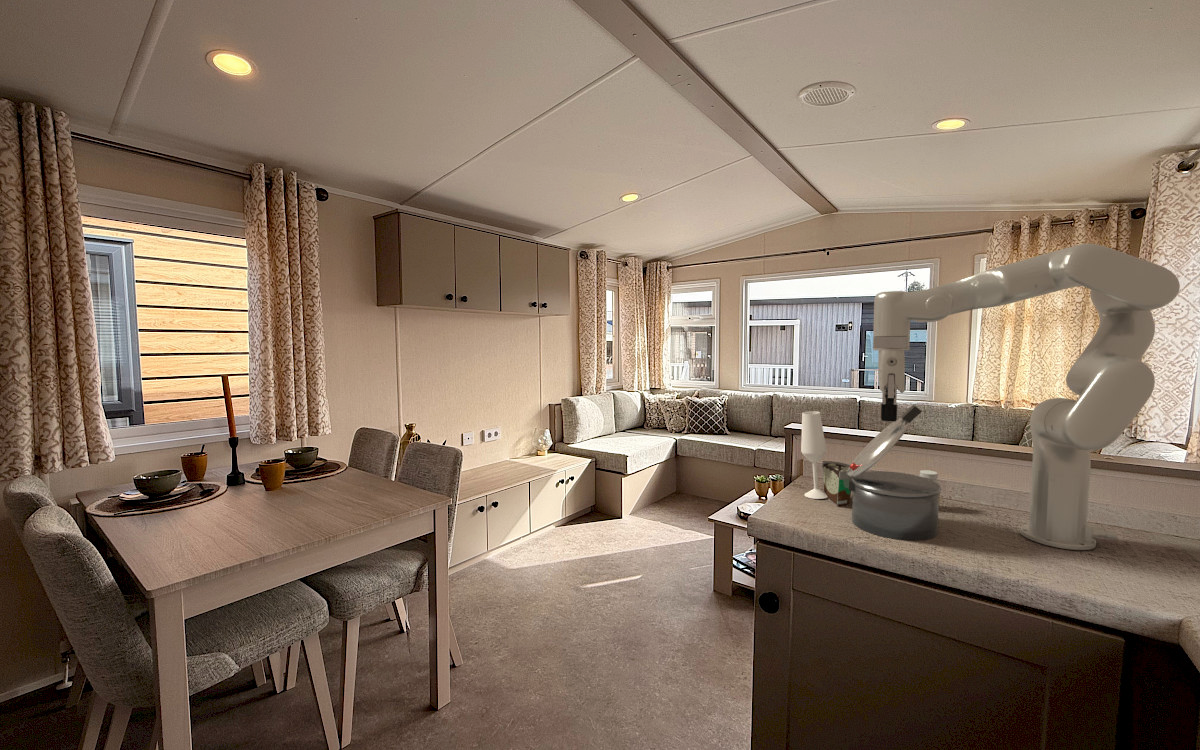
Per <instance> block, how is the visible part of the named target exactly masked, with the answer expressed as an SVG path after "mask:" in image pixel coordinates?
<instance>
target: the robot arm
mask: <svg viewBox="0 0 1200 750" xmlns="http://www.w3.org/2000/svg"><path fill="white" fill-rule="evenodd" d="M1078 287H1084V288H1086V289H1088V290H1090V291H1089V293H1090V295H1089V296H1090V300H1091V302H1092V303H1091V304H1093V306H1094V307H1095V309H1096V311H1097V314H1098V317H1099V324H1098V328H1097V330H1096V332H1095V334H1094V335H1093V337H1092V339H1091V340H1090V342H1089V343H1088V344H1087V346H1086V347H1085V348H1084V349H1083V351H1082V353H1081V354H1080V355H1079V357H1078V358H1077V359H1076V360H1075V362H1074V363H1073V364H1072V366H1071V367H1070V369H1069V371H1068V372H1067V374H1066V379H1065V382H1066V386H1067V387H1068V389H1069V390H1070V391H1071V392H1072V393H1073V394H1076V395H1078V398H1077V399H1076V400H1075V399H1071V398H1065V397H1054V398H1050V399H1046V400H1043V401H1041V402H1039V404H1037V405H1036V406H1035V407H1034V408H1033V410H1032V412H1031V413H1030V419H1029V420H1030V421H1029V424H1030V425H1029V426H1030V434H1031V441H1032V463H1031V464H1032V466H1031V480H1030V481H1031V482H1030V483H1031V484H1030V485H1031V487H1030V504H1029V520H1028V521H1029V522H1028V523H1026V524H1022V525H1021V526H1020V527H1019V532H1020V534H1021V536H1023V537H1024V538H1026V539H1028V540H1030V541H1033V542H1035V543H1038V544H1041V545H1045V546H1049V547H1054V548H1058V549H1064V550H1071V551H1089V550H1093V549H1095V548H1096V546H1097V540H1096V539H1098V538H1103V539H1104V540H1106V539H1107V540H1113V541H1116V540H1118V532H1117V531H1116V530H1115V529H1114V530H1111V529H1105V528H1104V527H1103V526H1097V525H1096V526H1095V525H1094V526H1093V525H1092V524H1090V523H1089V522H1088V515H1089V514H1088V513H1089V497H1090V483H1091V482H1090V479H1091V468H1092V466H1091V464H1092V463H1091V461H1092V460H1091V453H1090V452H1092V451H1093V452H1094V451H1098V450H1103V449H1105V448H1107V447H1108V446H1110V445H1112V444H1113V443H1114V442H1115V441H1117V439H1118V438H1119V437H1120V436H1121V435H1122V434H1123V433H1124V431H1125V430H1126V429H1127V427H1128V426H1129V425H1130V424H1131V423H1132V421H1133V420H1134V419H1135V418H1136V417H1137V415H1138V413H1140V411H1141V410H1142V408H1144V406H1145V405H1146V404H1147V402H1148V400H1149V399H1150V398H1151V396H1152V395H1153V392H1154V389H1155V383H1156V380H1155V375H1154V372H1153V370H1152V369H1151V367H1149V365H1147V364H1146V363H1145V362H1143V361H1141V360H1142V358H1143V356H1144V355H1145V353H1146V352H1147V350H1148V348H1149V347H1150V345H1151V344H1152V342H1153V339H1154V338H1155V333H1156V326H1155V325H1156V324H1155V320H1154V317H1153V313H1152V311H1153V310H1158V309H1160V308H1163V307H1165V306H1167V305H1169V304H1170V303H1172V302H1173V301H1174V300H1175V299H1176V298H1177V296H1178V294H1179V293H1180V289H1181V287H1180V281H1179V277H1177V276H1176V274H1175V273H1174V272H1173V271H1172V270H1169V269H1168V268H1167V267H1165V266H1163V265H1159V264H1157V263H1154V262H1151V261H1148V260H1146V259H1142V258H1139V257H1137V256H1134V255H1131V254H1128V253H1126V252H1123V251H1121V250H1118V249H1114V248H1111V247H1108V246H1104V245H1103V244H1102V245H1101V244H1097V243H1080V244H1076V245H1073V246H1069V247H1066V248H1062V249H1058V250H1054V251H1050V252H1047V253H1043V254H1040V255H1036V256H1033V257H1030V258H1026V259H1022V260H1018V261H1015V262H1012V263H1007V264H1005V265H1001V266H997V267H993V268H990V269H987V270H984V271H982V272H980V273H976V274H973V275H971V276H969V277H966V278H963V279H959V280H956V281H952V282H949V283H945V284H941V285H939V286H935V287H931V288H927V289H921V290H916V291H915V290H914V291H905V290H904V291H903V290H891V291H881V292H878V293H877V294H876V295H875V297H874V300H873V333H872V334H873V335H872V350H873V351H878V355H877V356H878V357H877V358H878V361H877V363H878V364H877V366H878V367H877V369H878V370H877V372H878V373H877V376H878V377H877V378H878V386H879V390H880V391H881V392H882V400H881V401H882V403H881V405H880V406H881V407H880V419H881V421H882V422H895V421H897V420H898V418H897V417H898V404H897V400H898V399H897V396H898V395H897V394H898V392H900V394H903V393H904V392H905V390H906V389H905V371H906V370H905V368H906V364H905V363H906V362H905V360H906V359H905V352H906V351H910V340H911V339H910V338H911V337H910V336H911V321H913V322H917V323H934V322H938V321H939V322H940V321H942V320H944V319H945V318H947V317H948V316H952V315H956V314H959V313H964V312H969V311H972V310H979V309H980V310H981V309H990V308H996V307H1000V306H1005V305H1009V304H1013V303H1018V302H1020V301H1024V300H1029V299H1032V298H1036V297H1040V296H1044V295H1047V294H1052V293H1055V292H1059V291H1064V290H1067V289H1071V288H1078Z"/></svg>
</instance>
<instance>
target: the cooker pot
mask: <svg viewBox="0 0 1200 750" xmlns="http://www.w3.org/2000/svg"><path fill="white" fill-rule="evenodd" d="M849 491H851V492H852V494H851V496H852V497H851V498H852V501H851V502H852V505H851V509H852V510H851V522H852V524H853V525H854V526H855V527H857V528H858V529H860V530H862V531H865V532H867V533H869V534H872V535H875V536H878V537H883V538H887V539H892V540H900V541H917V542H918V541H926V540H927V541H928V540H931V539H933V538H936V537H937V536H938V534H939V533H938V532H939V509H940V502H939V494H940V495H941V492H942V488H941V484H940V485H939V484H937V483H936V482H934V481H932V480H930V479H927V478H924V477H920V475H915V474H910V473H905V472H899V471H898V472H895V471H888V470H887V471H886V470H882V471H881V470H871V471H869V470H867V471H865V472H864V473H862V474H861V475H859V476H857V477H855V478H851V477H849Z"/></svg>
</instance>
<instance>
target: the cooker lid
mask: <svg viewBox="0 0 1200 750" xmlns="http://www.w3.org/2000/svg"><path fill="white" fill-rule="evenodd" d="M921 413H922V410H921V409H920V408H919V407H918V406H916V405H915V404H912V405H911V406H910V407H909V408H908V409H907V410H906V411H905V412H904V413H903V414H902V415H901V416H900V418H897V421H895V422H894V421H892V423H889V424H888V426H886V427H885V428H884V429H882V430H881V431H880V432H879V433H878V434H877V435H876V436H875V437H874V438H873V439H871V441H869V443H868V444H867V445H866V446H864V448H863V449H862V450H861V451H860V452H859V453H858V454H857V456H856V457H855V458H854V459H852V462H851V464H849V465H850V466H849V468H848V470H847V474H848V475H849V476H850V477H851V478H855V477H857V476H859V475H861V474H862V473H864V472H867V471H869V470H870V469H871V468H872V467H873V466H874V465H876V464H877V463H878V462H879V461H881V459H882V458H883V457H884V456H886V455H887V453H888V452H890V450H891V449H892V448H893V447H894V446H895V445H896V444H897V443H898V442H899V440H901V438H902V437H903V436H904V435H905V433H906V431H907V430H908V428H909V426H910V423H911V422H912V421H914V420H915V419H916V418H917V417H918V416H919V415H920V414H921Z"/></svg>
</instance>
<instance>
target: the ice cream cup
mask: <svg viewBox="0 0 1200 750" xmlns="http://www.w3.org/2000/svg"><path fill="white" fill-rule="evenodd" d="M850 465H851V464H848V463H844V462H839V461H831V460H822V463H821V468H822V487H823V488H822V489H823V490H822V491H824V492H825V493H826V495H827V498H826V499H827V500H828V501H829V502H830V503H832V504H833V505H834V504H835V505H834V506H836V507H837V508H842V506H843V507H847V506H849V505H850V504H851V498H852V497H851V496H852V491H849V477H850V476H849V475H848V474H847V470H848V468H849V466H850Z"/></svg>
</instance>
